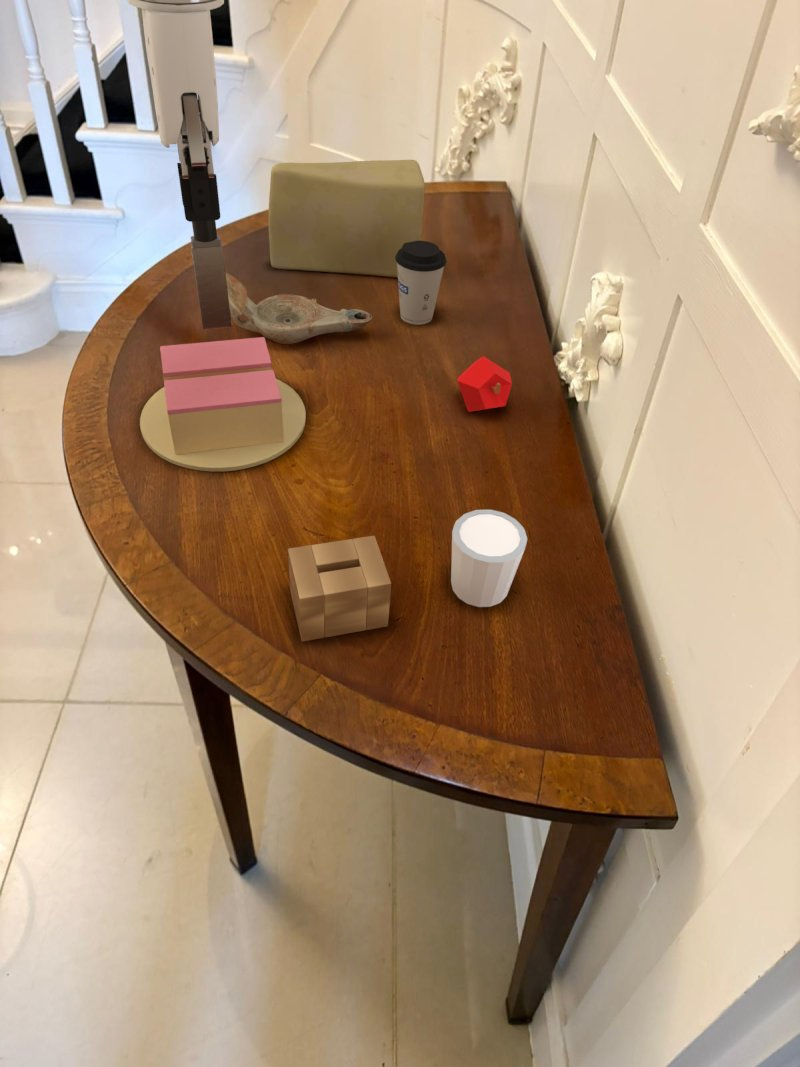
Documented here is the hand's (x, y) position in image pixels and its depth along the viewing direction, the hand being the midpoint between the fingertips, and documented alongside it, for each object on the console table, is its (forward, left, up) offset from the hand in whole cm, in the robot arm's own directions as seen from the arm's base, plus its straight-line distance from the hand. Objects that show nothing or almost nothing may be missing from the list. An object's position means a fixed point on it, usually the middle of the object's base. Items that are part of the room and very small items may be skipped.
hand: (201, 211), depth 74 cm
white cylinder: (+21, -30, -25) cm, 44 cm away
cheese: (+22, +36, -25) cm, 49 cm away
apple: (+31, -2, -25) cm, 40 cm away
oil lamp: (+11, +18, -25) cm, 32 cm away
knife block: (+7, -30, -25) cm, 40 cm away
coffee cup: (+29, +20, -25) cm, 43 cm away
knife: (0, 0, -12) cm, 12 cm away
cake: (0, +1, -25) cm, 25 cm away
